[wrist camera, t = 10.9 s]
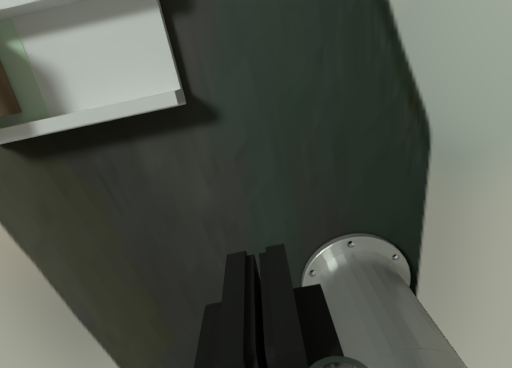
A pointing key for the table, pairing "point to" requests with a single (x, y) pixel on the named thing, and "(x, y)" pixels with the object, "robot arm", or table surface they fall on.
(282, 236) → the table surface
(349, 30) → the table surface
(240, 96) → the table surface
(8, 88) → the walnut block
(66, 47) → the chute
